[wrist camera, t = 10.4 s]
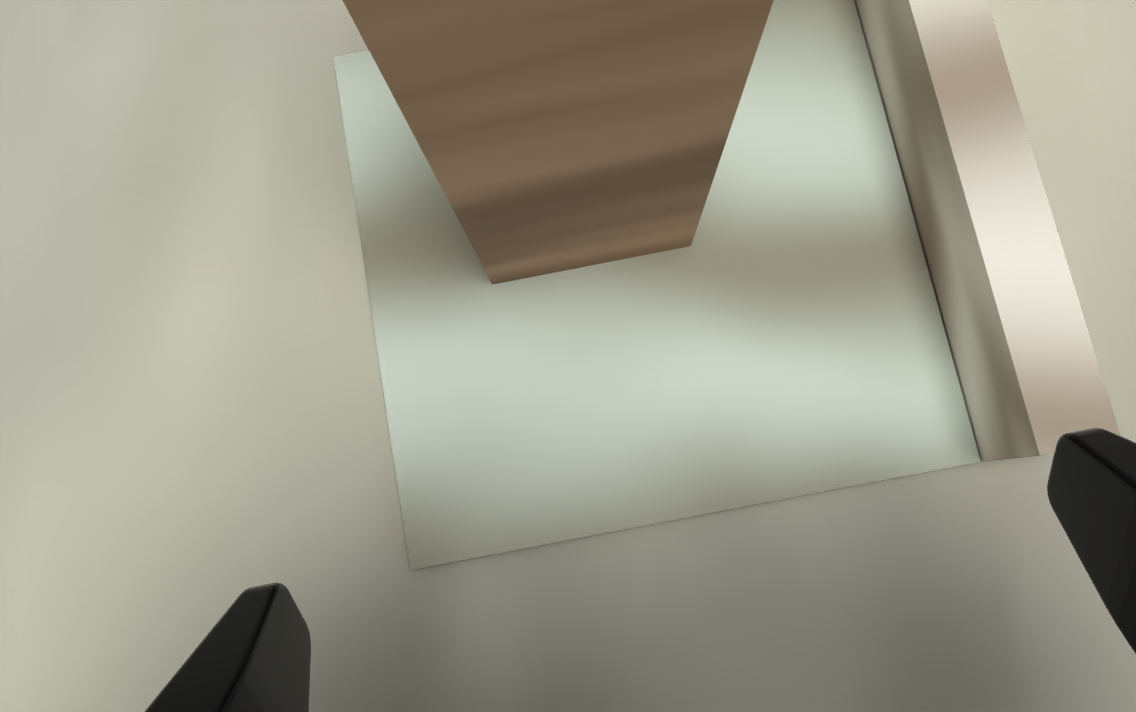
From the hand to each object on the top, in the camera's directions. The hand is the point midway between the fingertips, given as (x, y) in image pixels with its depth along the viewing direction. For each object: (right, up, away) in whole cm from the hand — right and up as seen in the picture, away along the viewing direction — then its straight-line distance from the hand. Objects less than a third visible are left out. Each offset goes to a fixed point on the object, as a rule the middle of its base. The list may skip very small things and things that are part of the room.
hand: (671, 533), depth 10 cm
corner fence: (+1, +5, +9) cm, 11 cm away
